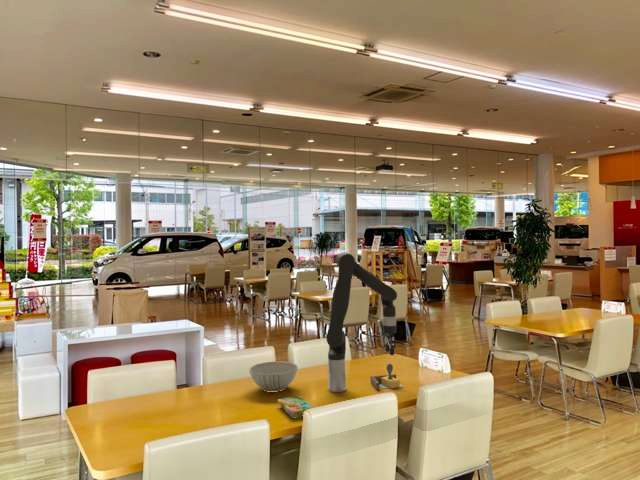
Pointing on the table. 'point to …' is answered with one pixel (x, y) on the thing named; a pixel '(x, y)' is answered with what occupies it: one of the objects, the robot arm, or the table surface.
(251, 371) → the decorative bowl
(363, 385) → the table surface
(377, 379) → the corner fence
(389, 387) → the resting mat
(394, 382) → the rubber stamp
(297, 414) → the puzzle game
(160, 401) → the table surface
